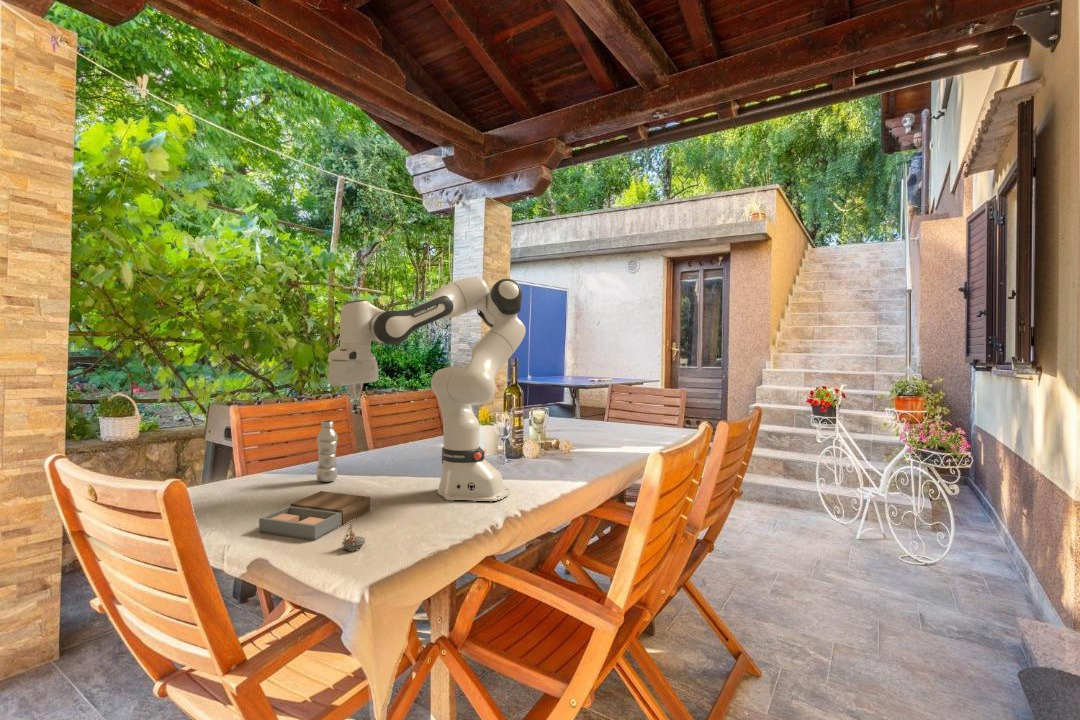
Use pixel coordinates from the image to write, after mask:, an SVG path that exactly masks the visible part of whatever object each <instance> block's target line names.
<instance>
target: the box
mask: <svg viewBox="0 0 1080 720" xmlns="http://www.w3.org/2000/svg"><path fill="white" fill-rule="evenodd" d="M283 513H284V514H290V515H297V516H299V521H302V520H304V519H306V518H309V517H314V518H321V519H325V520H323V521H321V522H319V523H317V524H307V523H299V522H292V521H285V520H277V519H270V518H273V517H275V516H278V515H280V514H283ZM340 526H341V527H343V526H342V513H339V512H331V511H324V510H316V509H308V508H300V507H292V506H290V505H288V506H286V507H283V508H281V509H278V510H277V511H273V512H271V513H269V514H266V515H263V516H262V517H258V532H259V533H260V534H267V535H274V536H281V537H287V538H288V537H289V538H294V539H301V540H308V541H317V540H319V539H321V538H322V536H323V537H325V536H326V535H328V534H330V533H332V532H333V530H334V531H336V530H338V529H339V528H341V527H340ZM338 527H339V528H338ZM337 528H338V529H337ZM335 529H336V530H335ZM331 531H332V532H331ZM329 532H330V533H329ZM324 535H325V536H324Z"/></svg>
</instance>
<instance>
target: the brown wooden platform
mask: <svg viewBox="0 0 1080 720" xmlns="http://www.w3.org/2000/svg"><path fill="white" fill-rule="evenodd" d="M289 506H292V507H300V508H308V509H316V510H324V511H331V512H339V513H342V525H343V526H345V525H347V524H348V523H347V522H349V521H351V520H353V519H354V520H356V519H358V518H360V517H361V515H362V516H363V514H364V515H365V513H366V512H367V513H369V512H371V496H366V495H357V494H347V493H341V492H333V491H332V492H331V491H323V490H320V491H318V492H315V493H313V494H311V495H308V496H306V497H303V498H300V499H297V500H296V501H294V502H291V503H290V504H289ZM368 511H369V512H368ZM367 513H366V514H367ZM359 516H360V517H359ZM357 517H358V518H357ZM355 518H356V519H355ZM354 520H353V521H354ZM351 522H352V521H351ZM346 523H347V524H346ZM349 523H350V522H349ZM344 524H345V525H344Z"/></svg>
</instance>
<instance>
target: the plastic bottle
mask: <svg viewBox="0 0 1080 720" xmlns="http://www.w3.org/2000/svg"><path fill="white" fill-rule="evenodd" d="M320 425H321V426H320V428H321V430H319V432H318V434H317V436H316V443H317V451H318V460H317V468H316V474H315V476H316V479H317V480H318V482H320V483H321V482H322V483H330V482H333V481H335V480H336V479H337V478H338V467H337V456H336V455H337V445H338V440H339V439H338V433H337V432H336V430H335V429H334V426H335V425H334V420H330V419H329V420H327V419H326V420H321V423H320Z"/></svg>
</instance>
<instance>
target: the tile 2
mask: <svg viewBox="0 0 1080 720" xmlns="http://www.w3.org/2000/svg"><path fill="white" fill-rule="evenodd" d="M323 520H325V519H321V518H314V517H309V518H306V519H304V520H302V521H299V523H307V524H317V523H319V522H321V521H323Z"/></svg>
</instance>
